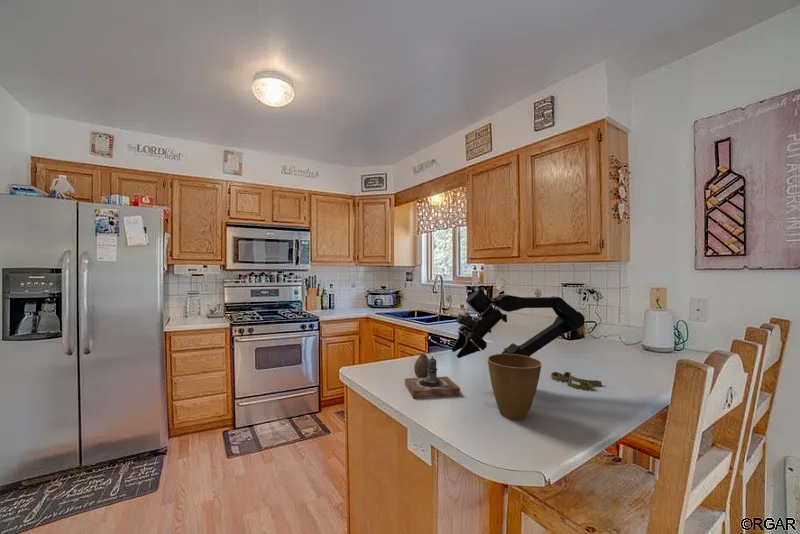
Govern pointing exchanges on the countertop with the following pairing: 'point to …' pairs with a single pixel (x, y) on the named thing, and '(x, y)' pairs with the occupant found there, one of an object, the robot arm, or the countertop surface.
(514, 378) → the plant pot
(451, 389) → the bore block
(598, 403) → the countertop surface
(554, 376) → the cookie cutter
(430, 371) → the grey chess piece
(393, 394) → the countertop surface
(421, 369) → the vase
